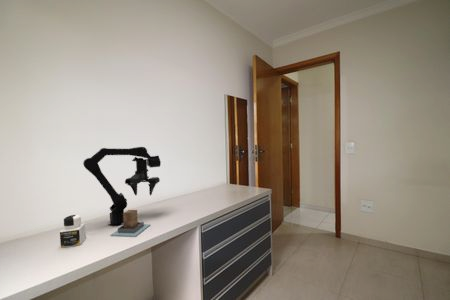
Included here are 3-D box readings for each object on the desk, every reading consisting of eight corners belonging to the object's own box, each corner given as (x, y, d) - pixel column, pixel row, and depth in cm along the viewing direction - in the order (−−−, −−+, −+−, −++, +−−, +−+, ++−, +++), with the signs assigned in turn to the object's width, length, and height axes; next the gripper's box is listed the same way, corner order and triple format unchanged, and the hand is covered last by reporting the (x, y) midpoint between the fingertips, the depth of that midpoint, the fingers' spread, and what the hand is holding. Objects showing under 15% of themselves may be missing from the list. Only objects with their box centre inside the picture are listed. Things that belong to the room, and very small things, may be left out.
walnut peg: (124, 231, 100) (123, 212, 100) (129, 227, 105) (128, 209, 104) (132, 231, 99) (131, 213, 99) (138, 227, 104) (137, 209, 104)
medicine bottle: (60, 248, 87) (58, 220, 86) (68, 240, 93) (66, 214, 93) (80, 245, 89) (78, 217, 88) (86, 238, 95) (84, 212, 95)
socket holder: (110, 236, 97) (110, 230, 96) (127, 224, 109) (127, 220, 109) (135, 236, 95) (135, 231, 94) (150, 225, 107) (150, 220, 107)
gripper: (117, 170, 113) (119, 198, 113) (149, 170, 110) (151, 199, 110) (130, 168, 124) (131, 193, 124) (159, 167, 121) (160, 193, 121)
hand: (143, 195), depth 120 cm, fingers open, 9 cm apart
